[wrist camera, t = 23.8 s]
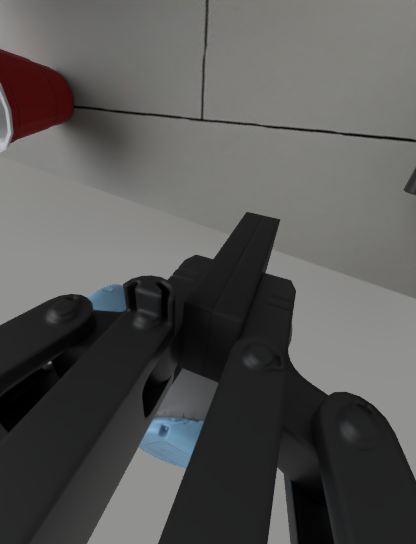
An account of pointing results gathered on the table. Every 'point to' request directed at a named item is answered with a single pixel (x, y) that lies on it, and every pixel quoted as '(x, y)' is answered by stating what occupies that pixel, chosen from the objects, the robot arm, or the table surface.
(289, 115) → the table surface
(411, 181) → the drawer
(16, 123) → the plastic cup
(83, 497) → the robot arm
